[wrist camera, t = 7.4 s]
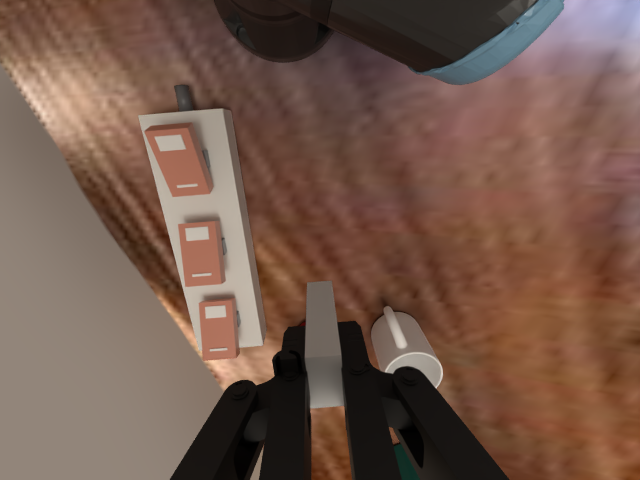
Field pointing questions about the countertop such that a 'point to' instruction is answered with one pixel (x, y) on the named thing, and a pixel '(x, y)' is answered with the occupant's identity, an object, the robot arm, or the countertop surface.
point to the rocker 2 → (202, 253)
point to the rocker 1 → (180, 158)
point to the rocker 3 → (219, 329)
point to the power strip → (214, 216)
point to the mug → (404, 345)
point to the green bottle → (405, 464)
